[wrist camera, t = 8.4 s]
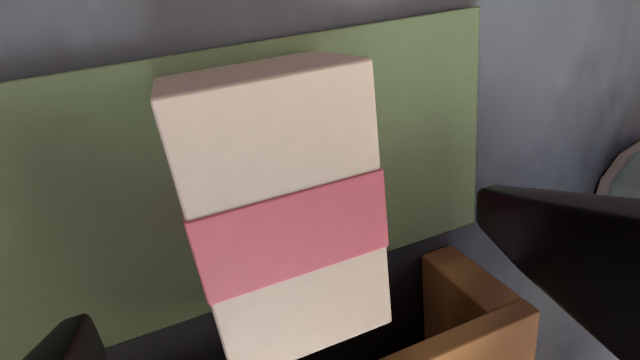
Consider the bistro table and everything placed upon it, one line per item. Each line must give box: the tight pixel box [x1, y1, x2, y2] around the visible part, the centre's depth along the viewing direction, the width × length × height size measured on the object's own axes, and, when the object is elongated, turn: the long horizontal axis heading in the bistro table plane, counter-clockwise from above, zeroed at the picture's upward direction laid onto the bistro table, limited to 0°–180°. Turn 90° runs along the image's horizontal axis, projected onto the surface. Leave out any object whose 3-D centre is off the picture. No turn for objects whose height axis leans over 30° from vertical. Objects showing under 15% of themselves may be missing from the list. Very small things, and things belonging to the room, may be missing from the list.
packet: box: [150, 51, 392, 360], centre depth 12 cm, size 5×8×4 cm, turn 10°
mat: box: [0, 6, 480, 360], centre depth 14 cm, size 20×9×1 cm, turn 100°
